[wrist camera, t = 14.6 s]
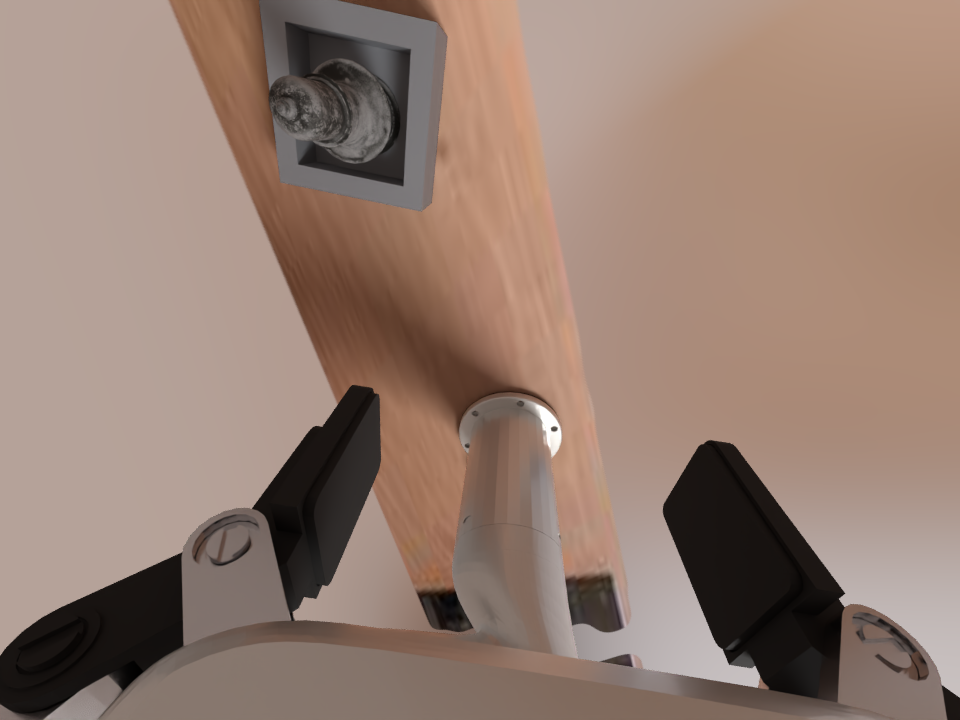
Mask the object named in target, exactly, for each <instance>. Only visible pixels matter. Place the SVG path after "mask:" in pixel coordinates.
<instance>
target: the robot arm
mask: <svg viewBox="0 0 960 720" xmlns="http://www.w3.org/2000/svg"><path fill="white" fill-rule="evenodd" d="M459 439H460V442H461V445H462V446H463V448H464V450H465V451H466V453H467V454H468V459H467V466H466V473H465V480H464V486H463V493H462V500H461V507H460V513H459V520H458V527H457V534H456V541H455V548H454V554H453V562H452V574H453V582H454V587H455V590H456V593H457V596H458V599H459V601H460V603H461V605H462V607H463V609H464V611H465V613H466V615H467V616H468V618H469V620H470V622H471V624H472V625H473V627H474V629H475V631H476V632H477V633H476V634H458V635H455V634H445V633H435V632H425V631H415V630H405V629H390V628H374V627H367V626H359V625H351V624H344V623H332V622H320V621H307V620H304V621H295V619H294V615H293V611H295V610H296V609H298V608H299V606H300V604H301V602H302V600H303V598H304V597H308V598H315V599H316V598H317V596H318V594H319V591H320V589H321V587H322V585H325V586H328V585H329V584H330V582H331V581H332V578H333V576H334V574H335V572H336V569H337V567H338V565H339V562H340V560H341V558H342V555H343V553H344V550H345V548H346V546H347V543H348V541H349V539H350V536H351V534H352V532H353V529H354V527H355V525H356V522H357V520H358V518H359V515H360V513H361V510H362V508H363V506H364V504H365V501H366V499H367V496H368V494H369V492H370V489H371V487H372V485H373V483H374V480H375V478H376V476H377V473H378V471H379V467H380V462H381V446H380V399H379V394H375V393H374V391H373V388H370V387H363V386H357V385H352V386H351V387H350V388H349V389H348V391H347V392H346V394H345V395H344V397H343V398H342V399H341V401H340V402H339V404H338V405H337V407H336V408H335V409H334V411H333V412H332V414H331V415H330V417H329V418H328V419H327V421H326V422H325V424H324V425H323V427H320V426H315V427H313V428H312V429H311V430H310V431H309V432H308V433H307V434H306V436H305V437H304V439H303V440H302V441H301V443H300V444H299V445H298V447H297V448H296V449H295V451H294V452H293V453H292V455H291V456H290V458H289V459H288V460H287V462H286V463H285V464H284V466H283V467H282V468H281V470H280V471H279V473H278V474H277V475H276V477H275V478H274V479H273V481H272V482H271V483H270V485H269V486H268V488H267V489H266V490H265V492H264V493H263V494H262V496H261V497H260V498H259V500H258V501H257V502H256V504H255V505H254V507H253V508H252V509H250V508H236V509H232V510H229V511H224V512H222V513H220V514H218V515H216V516H214V517H212V518H210V519H208V520H207V521H206V522H204V523H203V524H201V525H200V526H199V527H198V528H197V529H196V530H195V531H194V532H193V533H192V534H191V535H190V537H189V539H188V540H187V542H186V544H185V545H184V548H183V552H182V553H180V554H178V555H175V556H173V557H171V558H169V559H167V560H164V561H162V562H160V563H158V564H156V565H153V566H151V567H149V568H147V569H145V570H142V571H140V572H138V573H136V574H133V575H131V576H129V577H127V578H125V579H123V580H120V581H118V582H116V583H114V584H112V585H109V586H107V587H105V588H103V589H100V590H98V591H96V592H94V593H92V594H90V595H87V596H85V597H83V598H81V599H78V600H76V601H74V602H72V603H70V604H67V605H65V606H63V607H61V608H59V609H57V610H55V611H53V612H52V613H50V614H48V615H46V616H44V617H42V618H41V619H39V620H38V621H37V622H35V623H34V624H32V625H31V626H30V627H28V628H27V629H26V630H24V631H23V632H22V633H21V634H20V635H19V636H18V637H17V638H16V639H15V640H14V641H13V642H11V643H10V644H9V646H7V647H6V649H5V650H4V651H3V653H2V654H1V655H0V720H960V698H959V697H958V696H956V695H955V694H954V693H952V692H951V691H949V690H948V689H947V688H945V687H944V686H942V685H941V679H940V676H939V673H938V670H937V667H936V665H935V664H934V662H933V661H932V659H931V658H930V656H929V655H928V653H927V652H926V651H925V650H924V648H923V647H922V646H921V645H920V644H919V643H918V642H917V641H916V639H915V638H913V637H912V636H911V635H910V634H909V633H908V632H907V631H906V630H904V629H903V628H902V627H901V626H899V625H898V624H897V623H895V622H894V621H893V620H891V619H890V618H888V617H887V616H885V615H883V614H881V613H880V612H878V611H876V610H874V609H872V608H869V607H866V606H863V605H858V604H850V605H848V606H846V607H844V606H843V605H842V603H841V602H840V600H839V598H840V597H841V596H843V595H844V594H845V593H844V591H843V590H842V589H841V587H840V586H839V585H838V583H837V582H836V581H835V579H834V578H833V577H832V576H831V574H830V572H829V571H828V570H827V569H826V567H825V566H824V564H823V563H822V562H821V561H820V559H819V558H818V556H817V555H816V554H815V552H814V551H813V550H812V548H811V547H810V546H809V545H808V543H807V542H806V540H805V539H804V538H803V536H802V535H801V534H800V532H799V531H798V530H797V528H796V527H795V526H794V525H793V523H792V522H791V520H790V519H789V518H788V516H787V515H786V514H785V512H784V511H783V510H782V508H781V507H780V506H779V504H778V503H777V502H776V500H775V499H774V497H773V496H772V495H771V493H770V492H769V491H768V489H767V488H766V487H765V485H764V484H763V483H762V481H761V480H760V479H759V477H758V476H757V475H756V473H755V472H754V471H753V469H752V468H751V467H750V465H749V464H748V463H747V461H745V459H744V457H743V456H742V455H741V453H740V452H739V451H738V449H737V448H736V447H735V446H734V445H733V444H730V443H725V442H718V441H712V440H709V441H707V442H705V444H702V445H700V446H699V447H698V448H697V450H696V452H695V453H694V455H693V457H692V458H691V460H690V461H689V463H688V465H687V466H686V468H685V470H684V472H683V473H682V475H681V476H680V478H679V480H678V481H677V483H676V485H675V486H674V488H673V490H672V491H671V493H670V495H669V496H668V498H667V500H666V502H665V503H664V506H663V515H664V518H665V520H666V523H667V525H668V528H669V530H670V533H671V535H672V537H673V540H674V542H675V545H676V547H677V549H678V552H679V555H680V557H681V560H682V562H683V564H684V567H685V569H686V572H687V574H688V577H689V579H690V582H691V584H692V587H693V589H694V591H695V594H696V596H697V599H698V601H699V604H700V606H701V609H702V611H703V613H704V616H705V618H706V621H707V623H708V626H709V628H710V630H711V633H712V636H713V638H714V640H715V642H716V643H717V645H718V646H719V647H720V648H722V649H723V651H724V654H725V656H726V658H727V661H728V663H729V665H734V666H741V667H747V668H753V667H754V666H756V668H757V670H758V672H759V674H760V681H759V685H758V688H755V687H748V686H743V685H737V684H731V683H724V682H719V681H713V680H707V679H701V678H694V677H689V676H683V675H677V674H670V673H664V672H658V671H652V670H646V669H640V668H634V667H628V666H621V665H615V664H609V663H603V662H597V661H590V660H584V659H579V658H578V653H577V649H576V644H575V639H574V634H573V629H572V624H571V617H570V611H569V605H568V598H567V590H566V583H565V575H564V566H563V557H562V549H561V538H560V529H559V521H558V512H557V503H556V494H555V485H554V476H553V467H552V457H553V456H554V455H555V454H556V453H557V451H558V449H559V448H560V445H561V441H562V429H561V424H560V421H559V418H558V416H557V415H556V413H555V412H554V411H553V410H552V409H551V408H550V407H549V406H548V405H547V404H546V403H544V402H542V401H541V400H539V399H537V398H535V397H532V396H530V395H526V394H521V393H513V392H505V393H496V394H492V395H488V396H486V397H484V398H481V399H479V400H478V401H476V402H475V403H473V404H472V405H471V406H470V407H469V408H468V409H467V410H466V411H465V413H464V415H463V416H462V419H461V422H460V428H459Z"/></svg>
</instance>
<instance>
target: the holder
mask: <svg viewBox="0 0 960 720" xmlns="http://www.w3.org/2000/svg"><path fill="white" fill-rule="evenodd" d="M259 6H260V14H261V23H262V31H263V40H264V48H265V57H266V65H267V73H268V82H269V90H270V89H271V86H272V84H273V83H274V82H275V80H277V79H278V78H280V77H282V76H287V75H293V76H298V77H302V76H304V75H306V74H309V73H313V72H314V70H315V69H316V68H317V67H318V66H319V65H320V64H322V63H324V62H325V61H327V60H330V59H336V58H343V59H348V60H352V61H354V62H356V63H358V64H360V65H362V66H364V67H365V68H366V69H367V70H368V71H369V72H370V73H371V74H373V75H374V76H376V77H378V78H380V79H381V80H382V81H383V82H384V83H385V84H386V85H387V86H388V87H389V88H390V90H391V91H392V93H393V94H394V96H395V99H396V101H397V104H398V106H399V112H400V117H401V118H400V131H399V134H398V138H397V140H396V141H395V143H394V145H393V146H392V147H391V148H390V149H389V150H388V151H387V152H385V153H383V154H381V155H377V156H376V157H375V158H374V159H372V160H370V161H367V162H365V163H356V164H354V163H349V162H344V161H342V160H340V159H338V158H336V157H334V156H333V155H332V154H330V153H329V152H328V151H327V150H325V149H324V147H323V146H320V145H318V144H316V143H314V142H313V141H302V140H298V139H295V138H293V137H291V136H289V135H288V134H287V133H285V132H284V131H283V130H282V129H281V128H280V127H279V125H278V124H277V123H276V121H275V119H274V117H273V124H274V133H275V141H276V150H277V158H278V167H279V175H280V182H281V183H286V184H291V185H295V186H300V187H305V188H310V189H315V190H320V191H324V192H329V193H334V194H339V195H344V196H349V197H353V198H358V199H363V200H368V201H373V202H378V203H383V204H387V205H392V206H397V207H402V208H407V209H412V210H416V211H423V210H424V209H425V208H426V207H427V206H428V205H430V204H431V203H432V193H433V183H434V173H435V162H436V152H437V141H438V131H439V121H440V110H441V100H442V89H443V79H444V68H445V58H446V48H447V35H446V34H445V33H444V31H443V30H442V28H441V27H440V26H439V24H438V23H437V22H434V21H429V20H425V19H420V18H416V17H411V16H406V15H402V14H397V13H393V12H388V11H384V10H379V9H375V8H370V7H366V6H361V5H357V4H352V3H347V2H343V1H338V0H259ZM272 116H273V115H272Z"/></svg>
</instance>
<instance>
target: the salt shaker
mask: <svg viewBox="0 0 960 720" xmlns="http://www.w3.org/2000/svg"><path fill="white" fill-rule="evenodd" d="M269 105H270V109H271V112H272V115H273V117H274V119H275V121H276V123H277V124H278V125H279V127H280V128H281V129H282V130H283V131H284V132H285V133H287V134H288V135H289V136H291V137H293V138H295V139H298V140H302V141H313V142H314V143H316V144H318V145H320V146H323V147H324V149H325V150H327V151H328V152H329V153H330V154H332V155H333V156H334V157H336V158H338V159H340V160H342V161H344V162H349V163H354V164H356V163H365V162H367V161H370V160H372V159H374V158H375V157H376V156H377V155H381V154H383V153H385V152H387V151H388V150H389V149H390V148H391V147H392V146H393V145H394V143H395V141H396V140H397V138H398V134H399V131H400V118H401V117H400V112H399V106H398V104H397V101H396V99H395V96H394V94H393V93H392V91H391V90H390V88H389V87H388V86H387V85H386V84H385V83H384V82H383V81H382V80H381V79H380V78H378V77H376V76H374V75H373V74H371V73H370V72H369V71H368V70H367V69H366V68H365V67H364V66H362V65H360V64H358V63H356V62H354V61H352V60H348V59H343V58H336V59H330V60H327V61H325V62H324V63H322V64H320V65H319V66H318V67H317V68H316V69H315V70H314V72H313V73H309V74H306V75H304V76H302V77H298V76H293V75H287V76H282V77H280V78H278V79H277V80H275V82H274V83H273V84H272V86H271V89H270V91H269Z"/></svg>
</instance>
